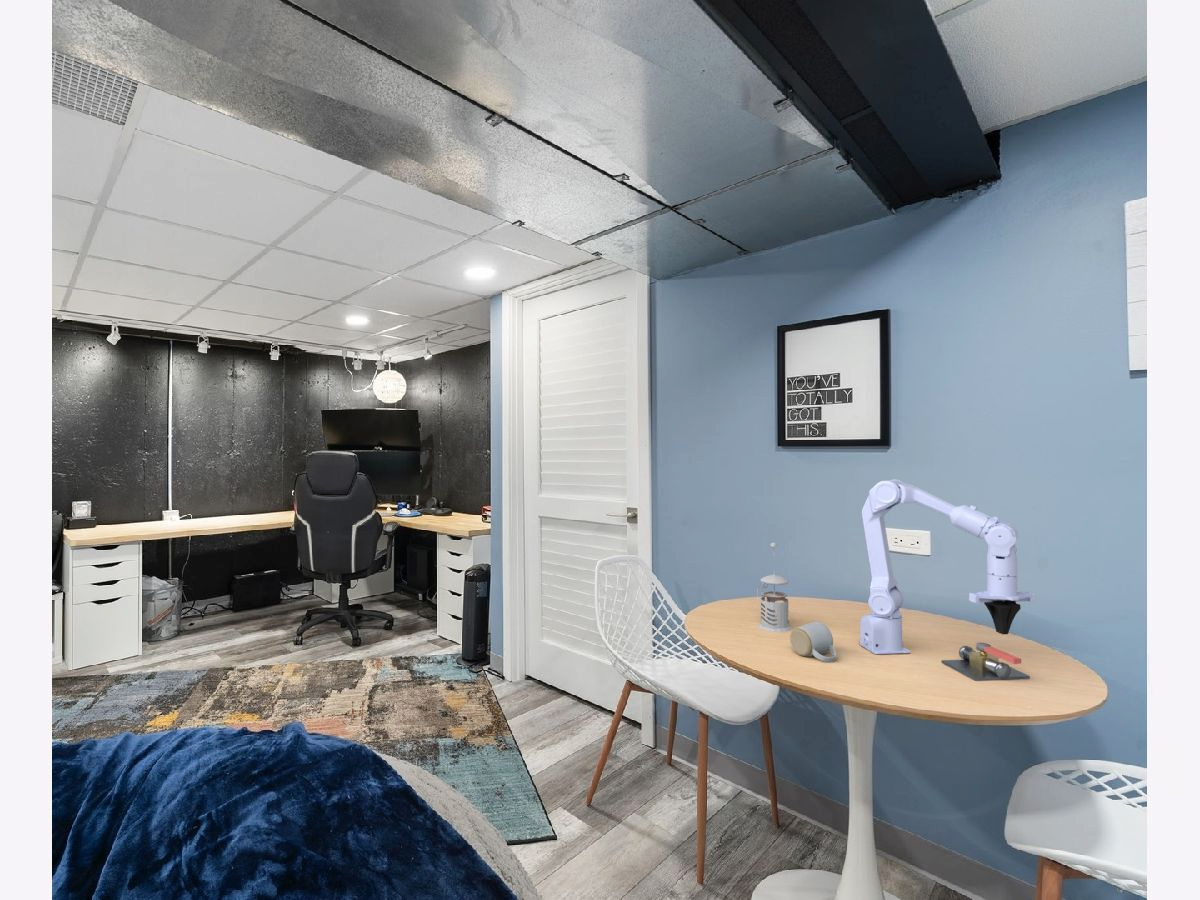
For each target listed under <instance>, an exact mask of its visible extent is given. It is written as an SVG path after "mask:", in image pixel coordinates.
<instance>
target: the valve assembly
mask: <svg viewBox="0 0 1200 900" xmlns="http://www.w3.org/2000/svg"><path fill="white" fill-rule="evenodd" d="M958 656H959V658H960V659H944V660H943V659H942V660H941V663H942V664H943V665H945V666H947V667H949V668H950V669H953V670H954V671H956V672H958V673H960V674H962V675H963V676H966V678H969V679H970V680H972V681H976V682H978V681H980V682H981V681H1001V680H1003V681H1004V680H1006V681H1008V680H1028V679H1029V680H1030V679H1031V676H1030V675H1029V674H1026V673H1024V672H1022V671H1020V670H1018V669H1016V668H1013V667H1012V666H1010V665H1009V664H1008V663H1006V662H1001V661H999V659H1000V658H998V657H996V656H994V655H991V654H989V653H987V652H983V651H976V650H974V649H973V648H972V647H971V646H969V645H963V646H961V647H960V648H959V651H958Z"/></svg>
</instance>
